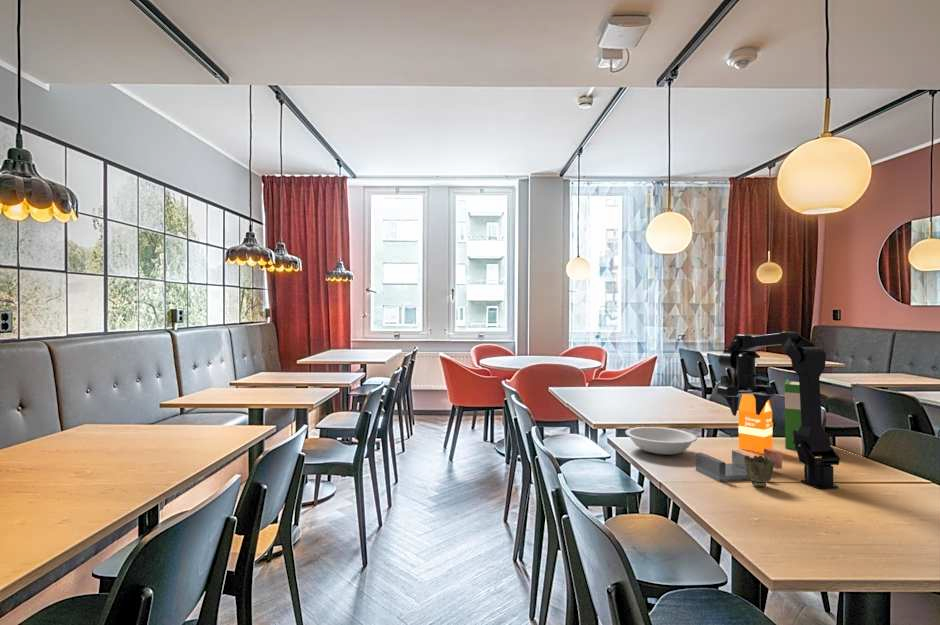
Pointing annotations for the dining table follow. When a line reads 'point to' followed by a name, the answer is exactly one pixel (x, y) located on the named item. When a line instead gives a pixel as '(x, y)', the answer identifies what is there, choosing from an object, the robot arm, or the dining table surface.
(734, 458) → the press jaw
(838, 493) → the dining table surface
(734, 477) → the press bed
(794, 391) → the hardback book
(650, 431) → the soup bowl
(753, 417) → the orange juice
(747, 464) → the ornate bronze lampshade
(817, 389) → the robot arm
